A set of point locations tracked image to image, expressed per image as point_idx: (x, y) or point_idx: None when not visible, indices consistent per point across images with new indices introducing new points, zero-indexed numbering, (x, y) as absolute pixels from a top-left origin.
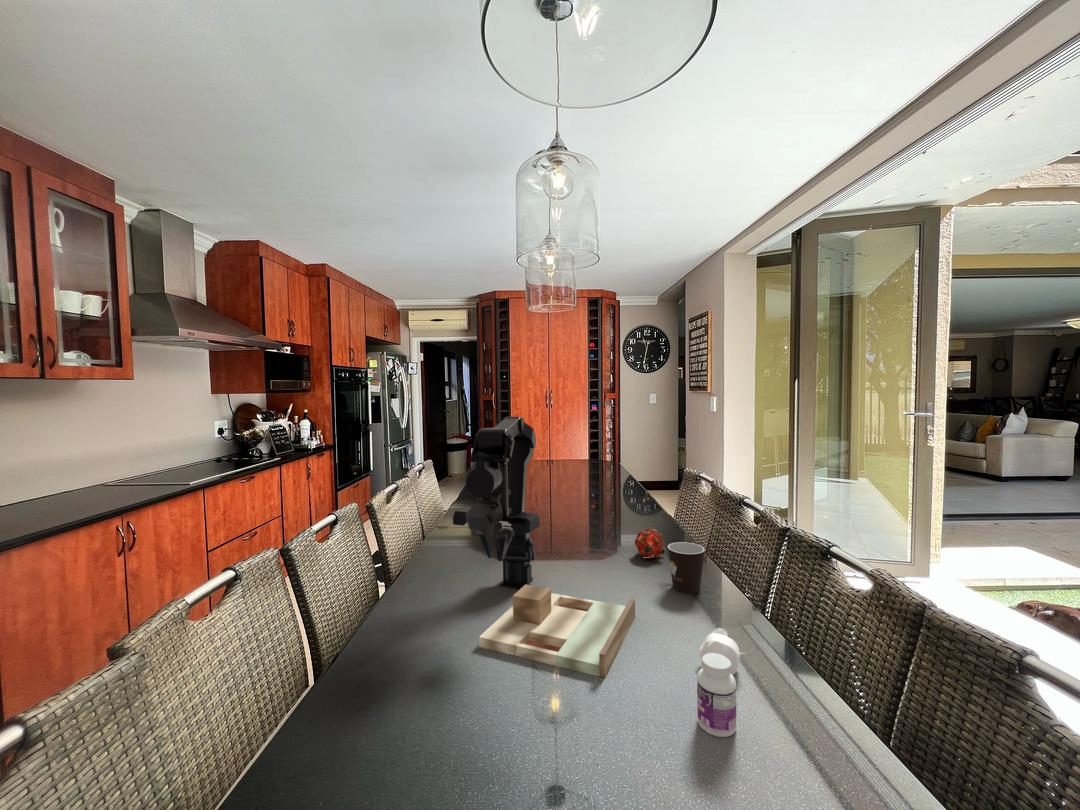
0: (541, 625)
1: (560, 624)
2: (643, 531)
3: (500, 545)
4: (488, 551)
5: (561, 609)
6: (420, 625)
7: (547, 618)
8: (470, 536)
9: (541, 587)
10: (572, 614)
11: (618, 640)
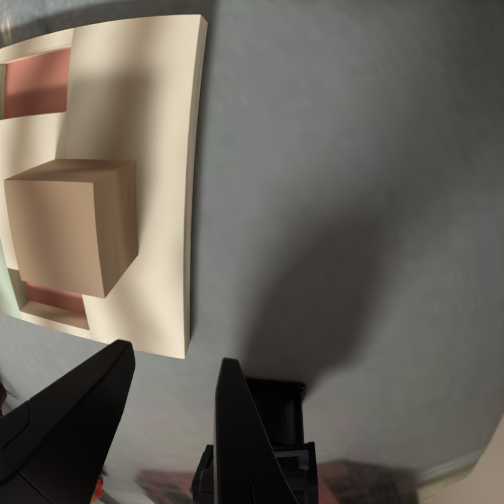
0: (50, 159)
1: None
2: (90, 502)
3: (55, 416)
4: (220, 394)
5: None
6: (455, 109)
7: None
8: (417, 487)
9: (46, 284)
10: None
11: None
